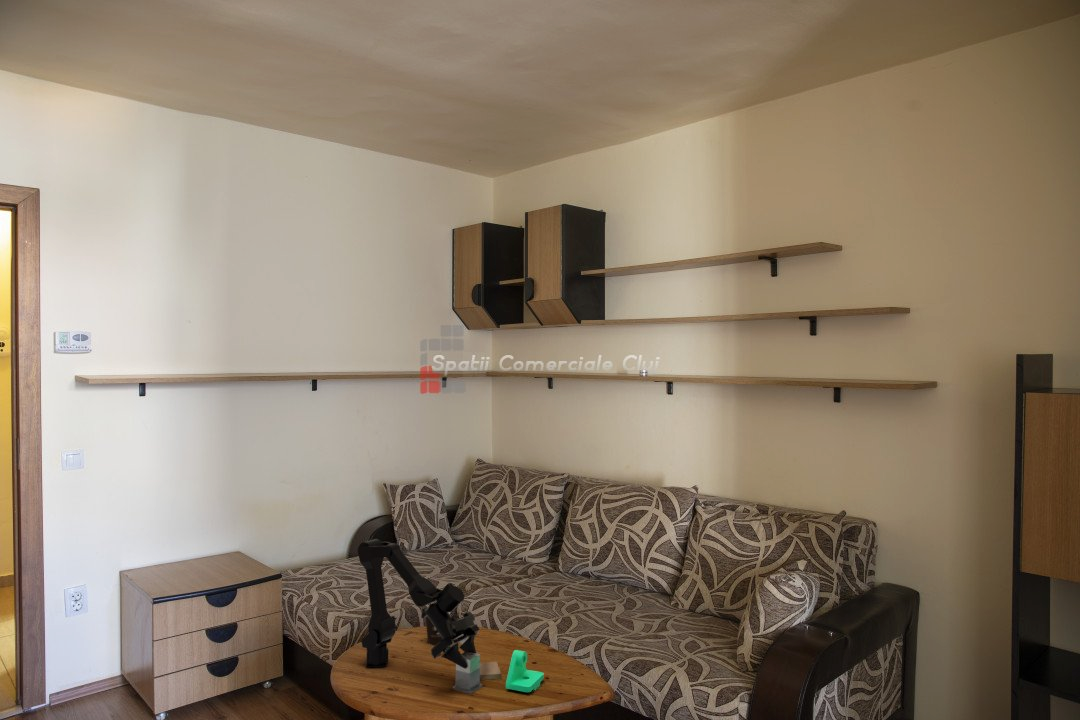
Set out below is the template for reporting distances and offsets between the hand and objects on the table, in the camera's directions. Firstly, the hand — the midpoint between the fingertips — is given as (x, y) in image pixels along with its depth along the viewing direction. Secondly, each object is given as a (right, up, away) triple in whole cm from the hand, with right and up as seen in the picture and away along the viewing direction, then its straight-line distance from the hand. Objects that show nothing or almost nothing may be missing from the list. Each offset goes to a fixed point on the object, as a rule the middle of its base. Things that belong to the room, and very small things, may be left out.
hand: (471, 664), depth 218 cm
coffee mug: (-14, -8, +39) cm, 42 cm away
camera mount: (+16, -8, +2) cm, 18 cm away
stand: (+2, -8, +11) cm, 14 cm away
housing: (-1, -7, 0) cm, 7 cm away
